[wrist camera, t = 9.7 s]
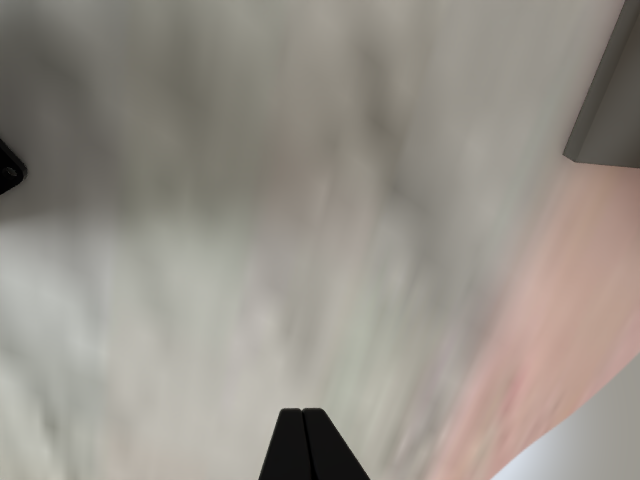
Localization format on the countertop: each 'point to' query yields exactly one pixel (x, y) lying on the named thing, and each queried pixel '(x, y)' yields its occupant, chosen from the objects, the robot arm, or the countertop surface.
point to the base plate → (612, 101)
